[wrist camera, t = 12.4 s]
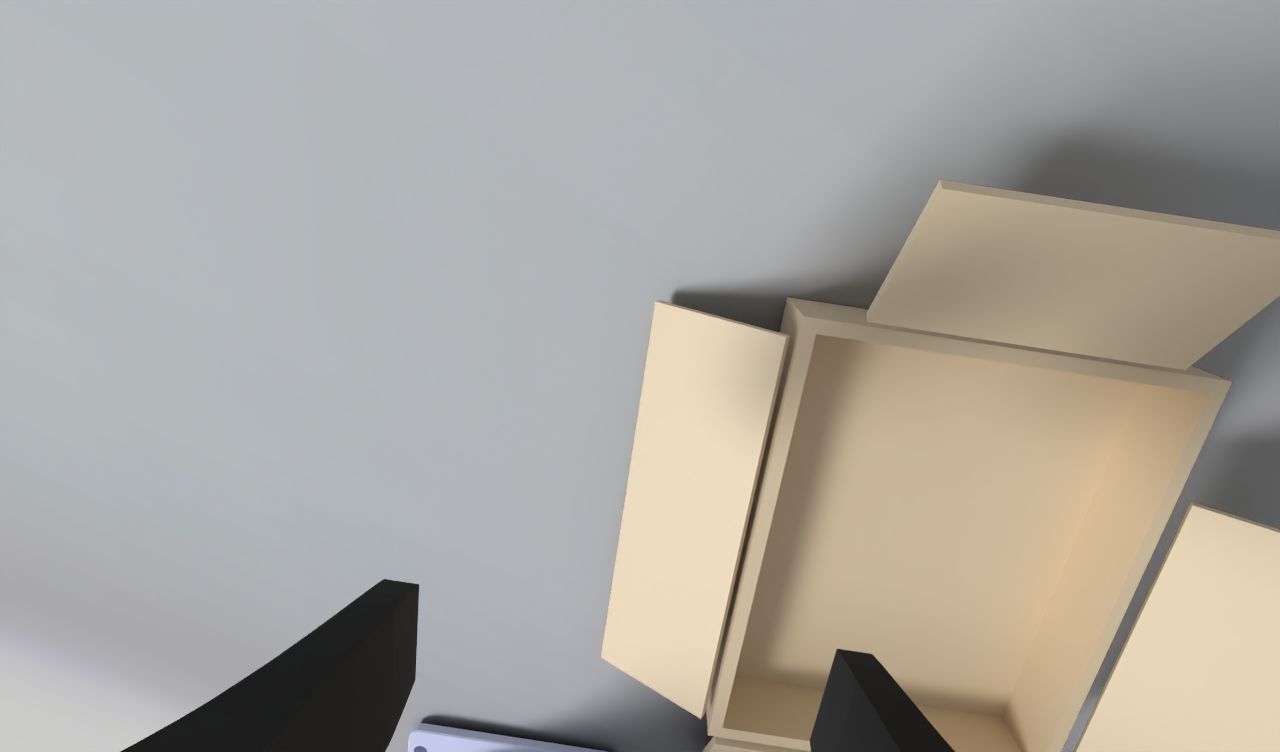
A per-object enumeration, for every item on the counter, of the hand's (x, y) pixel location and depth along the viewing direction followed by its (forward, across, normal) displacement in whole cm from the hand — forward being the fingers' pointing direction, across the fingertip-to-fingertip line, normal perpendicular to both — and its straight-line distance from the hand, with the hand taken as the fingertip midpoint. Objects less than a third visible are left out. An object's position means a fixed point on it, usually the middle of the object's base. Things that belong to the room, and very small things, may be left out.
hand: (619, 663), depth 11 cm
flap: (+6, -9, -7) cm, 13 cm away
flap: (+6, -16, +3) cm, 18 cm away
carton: (+10, -7, +4) cm, 13 cm away
